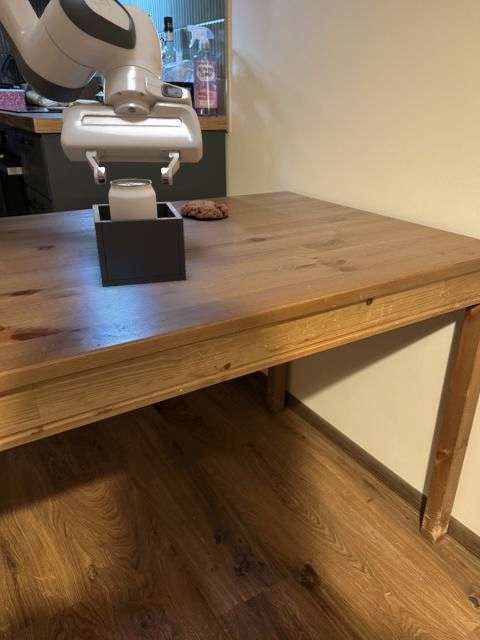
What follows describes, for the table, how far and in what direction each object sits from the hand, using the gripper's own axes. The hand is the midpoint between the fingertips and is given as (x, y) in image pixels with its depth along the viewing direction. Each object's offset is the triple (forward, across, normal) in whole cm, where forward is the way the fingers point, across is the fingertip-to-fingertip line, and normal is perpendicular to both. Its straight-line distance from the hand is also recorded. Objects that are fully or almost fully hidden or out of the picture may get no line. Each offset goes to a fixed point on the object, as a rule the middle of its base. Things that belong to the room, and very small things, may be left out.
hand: (134, 182), depth 72 cm
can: (+10, 0, +6) cm, 12 cm away
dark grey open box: (+11, 0, +7) cm, 13 cm away
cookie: (-15, +11, +33) cm, 38 cm away
